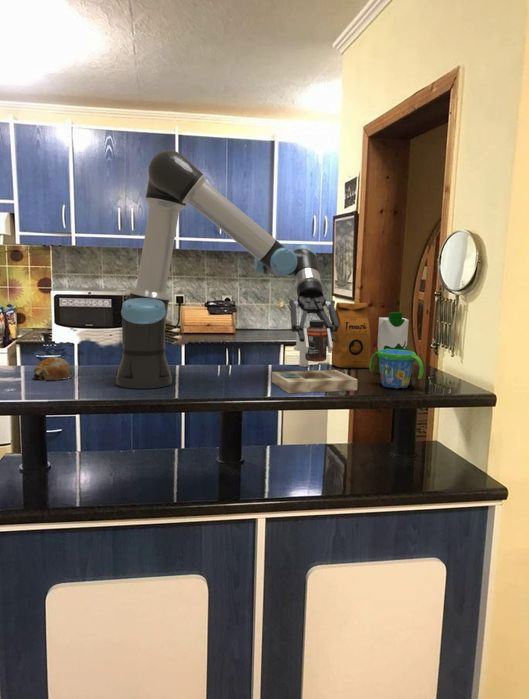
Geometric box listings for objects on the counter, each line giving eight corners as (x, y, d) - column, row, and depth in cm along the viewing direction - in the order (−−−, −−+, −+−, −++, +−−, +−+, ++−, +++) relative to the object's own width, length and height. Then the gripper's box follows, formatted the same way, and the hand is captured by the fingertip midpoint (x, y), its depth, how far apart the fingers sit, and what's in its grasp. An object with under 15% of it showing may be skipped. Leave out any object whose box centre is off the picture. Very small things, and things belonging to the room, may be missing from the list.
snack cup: (428, 388, 163) (431, 353, 161) (410, 394, 155) (412, 356, 153) (380, 380, 173) (382, 346, 171) (361, 385, 165) (363, 350, 164)
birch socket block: (288, 393, 152) (288, 381, 152) (271, 382, 166) (272, 370, 166) (357, 390, 158) (357, 378, 157) (335, 379, 172) (335, 368, 172)
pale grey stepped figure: (314, 367, 191) (316, 323, 189) (293, 367, 192) (295, 322, 189) (313, 364, 198) (314, 321, 196) (293, 363, 198) (294, 320, 196)
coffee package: (372, 369, 190) (375, 303, 187) (336, 369, 189) (338, 303, 186) (363, 364, 200) (366, 301, 197) (328, 364, 199) (331, 301, 195)
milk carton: (380, 377, 178) (383, 312, 175) (373, 371, 187) (376, 310, 184) (408, 377, 178) (411, 313, 175) (400, 372, 187) (403, 311, 184)
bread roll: (67, 393, 163) (79, 367, 163) (32, 380, 158) (44, 353, 159) (63, 386, 172) (74, 361, 172) (29, 373, 167) (41, 348, 167)
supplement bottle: (326, 359, 164) (327, 319, 162) (326, 362, 158) (328, 321, 156) (305, 358, 164) (306, 318, 163) (304, 361, 158) (306, 321, 157)
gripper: (337, 296, 175) (349, 357, 161) (276, 295, 173) (283, 358, 159) (342, 279, 169) (355, 341, 155) (279, 278, 167) (286, 341, 153)
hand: (318, 349), depth 157 cm, fingers closed on supplement bottle, 6 cm apart
